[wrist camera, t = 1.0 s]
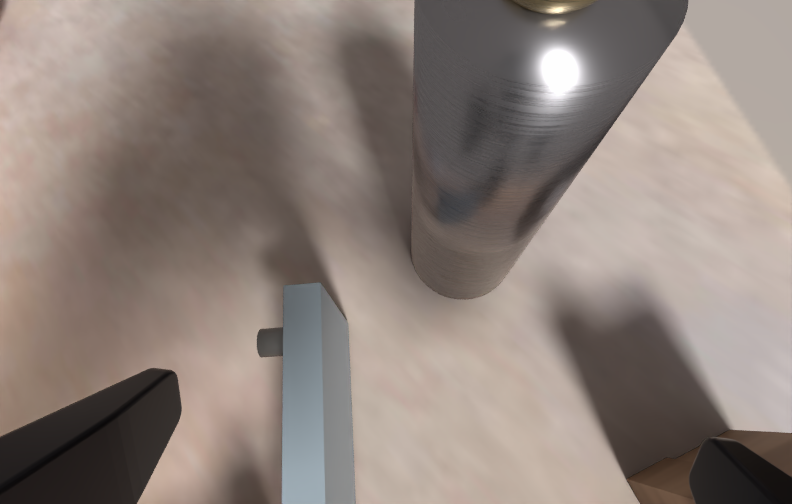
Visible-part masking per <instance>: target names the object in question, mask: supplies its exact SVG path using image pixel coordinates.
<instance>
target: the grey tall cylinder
mask: <svg viewBox="0 0 792 504" xmlns="http://www.w3.org/2000/svg"><path fill="white" fill-rule="evenodd" d="M687 8H688V0H415V8H414V80H413V152H412V224H411V256H412V261H413V265H414V268H415V270H416V272H417V274H418V275H419V277H420V278H421V280H422V281H423V282H424V283H425V284H426V285H427V286H428V287H429V288H431V289H432V290H433V291H435V292H437V293H439V294H441V295H443V296H446V297H449V298H454V299H473V298H477V297H480V296H483V295H485V294H487V293H489V292H491V291H492V290H493V289H495V288H496V287H497V286H498V285H499V284H500V283H501V282H502V280H503V279H504V278H505V276H506V275H507V274H508V272H509V271H510V269H511V268H512V266H513V265H514V264H515V262H516V261H517V259H518V258H519V257H520V255H521V254H522V252H523V251H524V250H525V248H526V247H527V245H528V244H529V242H530V241H531V240H532V238H533V237H534V235H535V234H536V233H537V231H538V230H539V228H540V227H541V226H542V224H543V223H544V221H545V220H546V218H547V217H548V216H549V214H550V213H551V211H552V210H553V209H554V207H555V206H556V204H557V203H558V201H559V200H560V199H561V197H562V196H563V194H564V193H565V192H566V190H567V189H568V187H569V186H570V185H571V183H572V182H573V180H574V179H575V177H576V176H577V175H578V173H579V172H580V170H581V169H582V168H583V166H584V165H585V163H586V162H587V161H588V159H589V158H590V156H591V155H592V153H593V152H594V151H595V149H596V148H597V146H598V145H599V144H600V142H601V141H602V139H603V138H604V136H605V135H606V134H607V132H608V131H609V129H610V128H611V127H612V125H613V124H614V122H615V121H616V120H617V118H618V117H619V115H620V114H621V112H622V111H623V110H624V108H625V107H626V105H627V104H628V103H629V101H630V100H631V98H632V97H633V96H634V94H635V93H636V91H637V90H638V88H639V87H640V86H641V84H642V83H643V81H644V80H645V79H646V77H647V76H648V74H649V73H650V71H651V70H652V69H653V67H654V66H655V64H656V63H657V62H658V60H659V59H660V57H661V56H662V55H663V53H664V52H665V50H666V49H667V47H668V46H669V45H670V43H671V42H672V40H673V39H674V38H675V36H676V35H677V33H678V31H679V29H680V27H681V25H682V24H683V21H684V18H685V15H686V12H687Z"/></svg>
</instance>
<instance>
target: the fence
mask: <svg viewBox="0 0 792 504" xmlns="http://www.w3.org/2000/svg"><path fill="white" fill-rule="evenodd" d="M717 437H718V438H726V439H733V440H736V441H738V442H740V443H741V444H743V445H744V446H746V447H747V448H749V449H750V450H752V451H753V452H755V453H756V454H758V455H759V456H761V457H762V458H764V459H765V460H767V461H768V462H770V463H771V464H773V465H774V466H776V467H777V468H779V469H780V470H782V471H783V472H785V473H786V474H788V475H789V476H791V477H792V433H779V432H761V431H742V430H728V431H727V432H725V433H723V434H721V435H719V436H717ZM699 449H700V446H699V447H697V448H695V449H693V450H691V451H689V452H688V453H686V454H684V455H682V456H680V457H678V458H676V459H672V458H665V459H663V460H661V461H659V462H657V463H655V464H654V465H652V466H650V467H648V468H646V469H644V470H642V471H641V472H639V473H637V474H635V475H633V476H631V477H629V478H628V479H627V481H628V483H629V484H630V486H631V488H632V490H633V491H634V493H635V495H636V497H637V499H638V500H639V502H640V504H695V502H694V499H693V496H692V493H691V490H690V486H689V473H690V470H691V468H692V465H693V463H694V460H695V458H696V456H697V453H698V451H699Z"/></svg>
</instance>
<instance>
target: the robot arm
mask: <svg viewBox="0 0 792 504" xmlns="http://www.w3.org/2000/svg"><path fill="white" fill-rule="evenodd" d="M181 409H182V408H181V399H180V392H179V385H178V378H177V375H176V373H175V372H174V371H172V370H166V369H158V368H150V369H147V370H145V371H143V372H141V373H139V374H136V375H134V376H132V377H130V378H128V379H126V380H123V381H121V382H119V383H117V384H115V385H112V386H110V387H108V388H106V389H104V390H102V391H99V392H97V393H95V394H93V395H91V396H88V397H86V398H84V399H82V400H80V401H78V402H75V403H73V404H71V405H69V406H67V407H64V408H62V409H60V410H58V411H56V412H54V413H51V414H49V415H47V416H45V417H43V418H40V419H38V420H36V421H34V422H32V423H30V424H27V425H25V426H23V427H21V428H19V429H16V430H14V431H12V432H10V433H8V434H6V435H3V436H1V437H0V504H137V502H138V500H139V499H140V497H141V495H142V493H143V491H144V489H145V487H146V485H147V483H148V481H149V479H150V477H151V475H152V473H153V471H154V469H155V467H156V465H157V463H158V461H159V459H160V457H161V455H162V453H163V452H164V450H165V448H166V446H167V444H168V442H169V440H170V438H171V436H172V434H173V432H174V430H175V428H176V426H177V424H178V422H179V419H180V416H181ZM689 486H690V490H691V493H692V496H693V499H694V502H695V504H792V477H791V476H789V475H788V474H786V473H785V472H783V471H782V470H780V469H779V468H777V467H776V466H774V465H773V464H771V463H770V462H768V461H767V460H765V459H764V458H762V457H761V456H759V455H758V454H756V453H755V452H753V451H752V450H750V449H749V448H747V447H746V446H744V445H743V444H741V443H740V442H738V441H736V440H733V439H726V438H718V437H708V438H706V439H705V440H704V441H703V442H702V444H701V446H700V449H699V451H698V453H697V456H696V458H695V460H694V463H693V465H692V468H691V470H690V473H689Z"/></svg>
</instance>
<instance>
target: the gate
mask: <svg viewBox="0 0 792 504" xmlns="http://www.w3.org/2000/svg"><path fill="white" fill-rule="evenodd" d="M257 350H258V354H259V356H260V357H272V356H283V413H282V504H356V498H355V474H354V450H353V426H352V402H351V377H350V353H349V329H348V322H347V321H346V319H345V318H344V316H343V315H342V313H341V312H340V310H339V309H338V307H337V306H336V304H335V303H334V302H333V300H332V299H331V297H330V296H329V294H328V293H327V291H326V290H325V288H324V287H323V285H322V284H321V282H320V283H308V284H296V285H284V290H283V327H281V328H269V329H260V330H259V332H258V335H257Z"/></svg>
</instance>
